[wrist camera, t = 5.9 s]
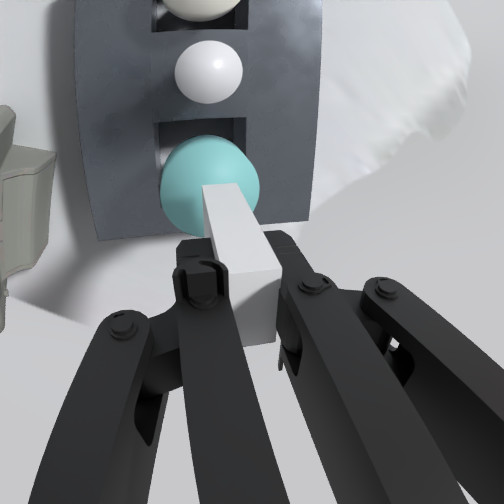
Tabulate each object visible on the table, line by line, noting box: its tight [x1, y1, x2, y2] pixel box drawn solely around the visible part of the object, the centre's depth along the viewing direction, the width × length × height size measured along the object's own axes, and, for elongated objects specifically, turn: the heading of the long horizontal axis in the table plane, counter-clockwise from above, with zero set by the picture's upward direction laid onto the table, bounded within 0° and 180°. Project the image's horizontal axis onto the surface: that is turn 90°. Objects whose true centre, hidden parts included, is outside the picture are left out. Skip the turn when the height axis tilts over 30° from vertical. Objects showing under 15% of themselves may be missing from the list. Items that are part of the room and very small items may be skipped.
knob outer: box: [160, 135, 260, 237], centre depth 18 cm, size 5×5×7 cm
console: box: [74, 0, 322, 241], centre depth 19 cm, size 16×22×5 cm
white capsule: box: [175, 41, 243, 104], centre depth 15 cm, size 3×3×6 cm
